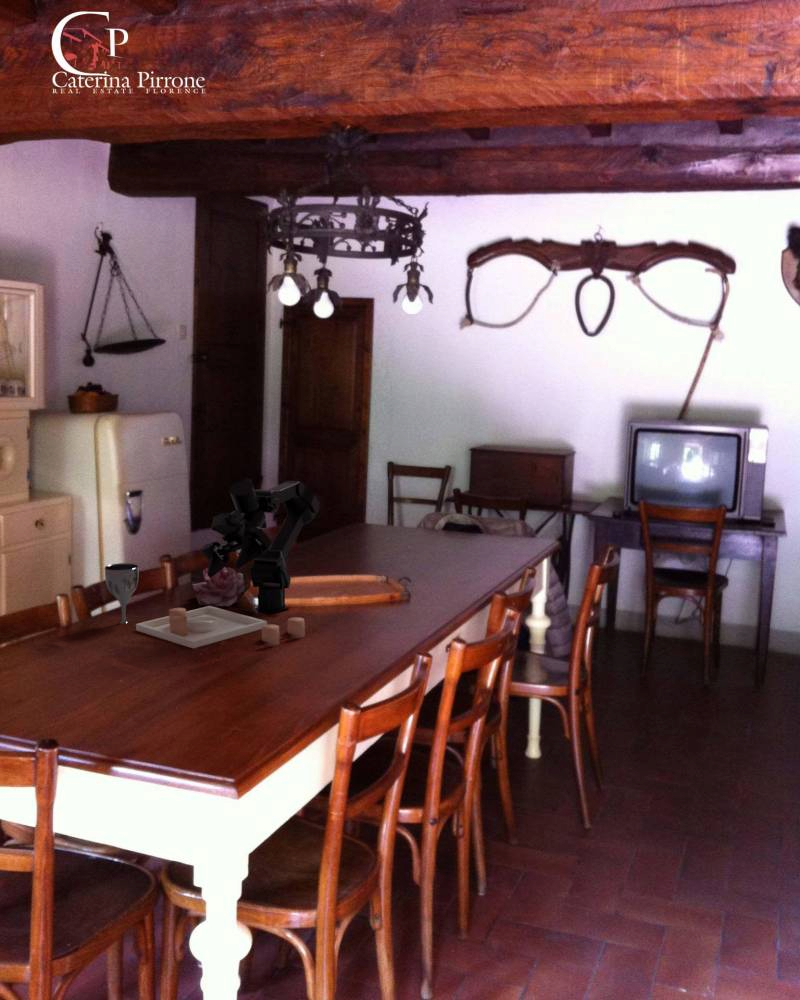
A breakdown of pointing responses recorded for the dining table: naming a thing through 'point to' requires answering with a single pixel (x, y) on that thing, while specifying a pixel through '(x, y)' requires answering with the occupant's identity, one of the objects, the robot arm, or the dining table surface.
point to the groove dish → (204, 626)
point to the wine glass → (122, 582)
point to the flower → (221, 588)
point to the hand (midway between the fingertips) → (222, 571)
